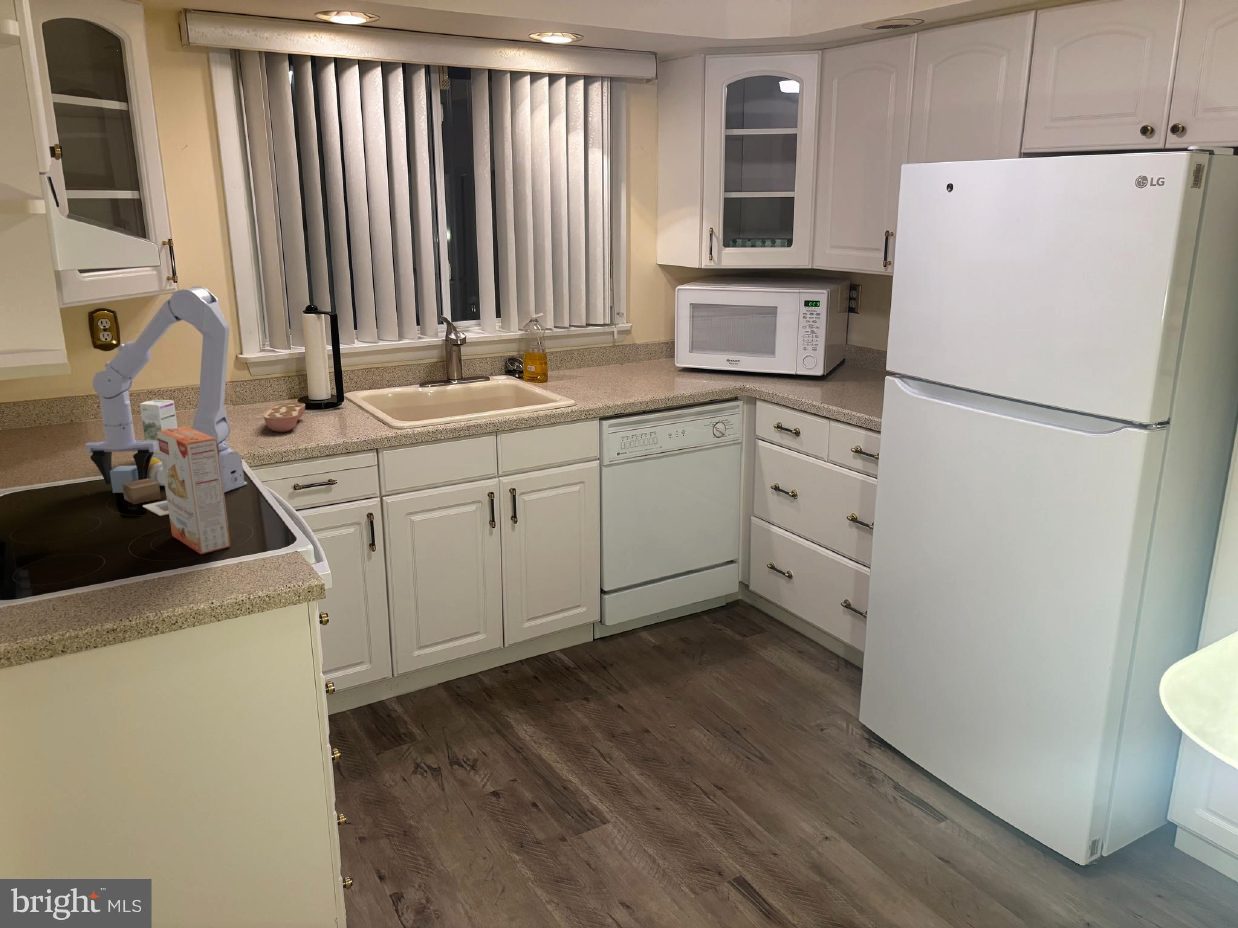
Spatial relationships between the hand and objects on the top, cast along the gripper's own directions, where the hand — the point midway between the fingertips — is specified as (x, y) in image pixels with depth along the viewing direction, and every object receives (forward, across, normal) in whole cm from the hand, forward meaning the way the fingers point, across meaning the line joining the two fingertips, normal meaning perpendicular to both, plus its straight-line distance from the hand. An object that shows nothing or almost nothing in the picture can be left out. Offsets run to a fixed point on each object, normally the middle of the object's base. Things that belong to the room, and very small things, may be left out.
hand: (126, 483), depth 207 cm
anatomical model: (+2, -17, -64) cm, 66 cm away
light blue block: (+2, 0, 0) cm, 2 cm away
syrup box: (+2, +3, -29) cm, 29 cm away
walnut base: (+2, -6, +8) cm, 10 cm away
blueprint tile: (+1, -14, +15) cm, 21 cm away
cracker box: (+2, -29, +37) cm, 47 cm away
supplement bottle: (-1, -2, -8) cm, 8 cm away
